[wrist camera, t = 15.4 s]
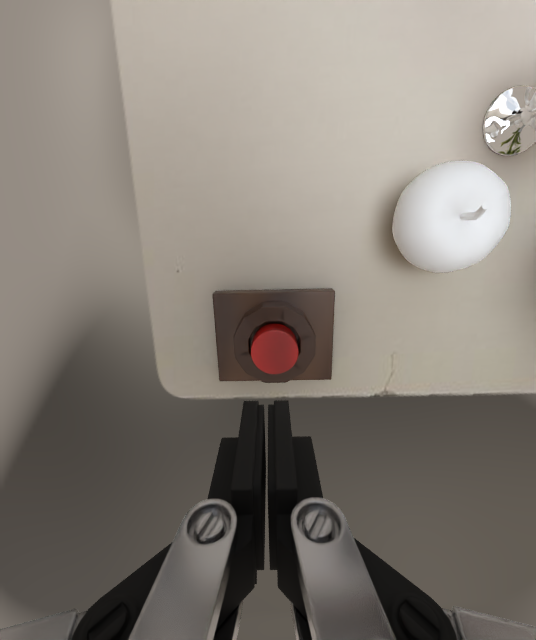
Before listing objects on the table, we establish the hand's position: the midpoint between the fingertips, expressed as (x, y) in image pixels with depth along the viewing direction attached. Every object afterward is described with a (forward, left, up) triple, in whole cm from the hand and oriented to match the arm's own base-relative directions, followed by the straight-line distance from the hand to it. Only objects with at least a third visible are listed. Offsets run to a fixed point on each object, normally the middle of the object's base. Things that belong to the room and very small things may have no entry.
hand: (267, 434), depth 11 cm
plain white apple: (+10, +11, -16) cm, 21 cm away
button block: (+1, -1, -16) cm, 16 cm away
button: (+1, -1, -13) cm, 13 cm away
